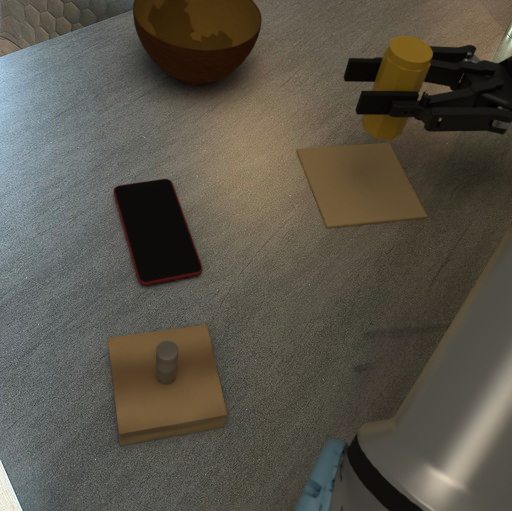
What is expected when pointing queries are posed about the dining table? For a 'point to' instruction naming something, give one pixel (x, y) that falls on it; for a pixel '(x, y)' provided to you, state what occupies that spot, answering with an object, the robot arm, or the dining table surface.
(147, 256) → the smartphone
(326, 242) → the dining table surface
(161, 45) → the bowl
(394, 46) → the jar
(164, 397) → the stand
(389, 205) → the mat
